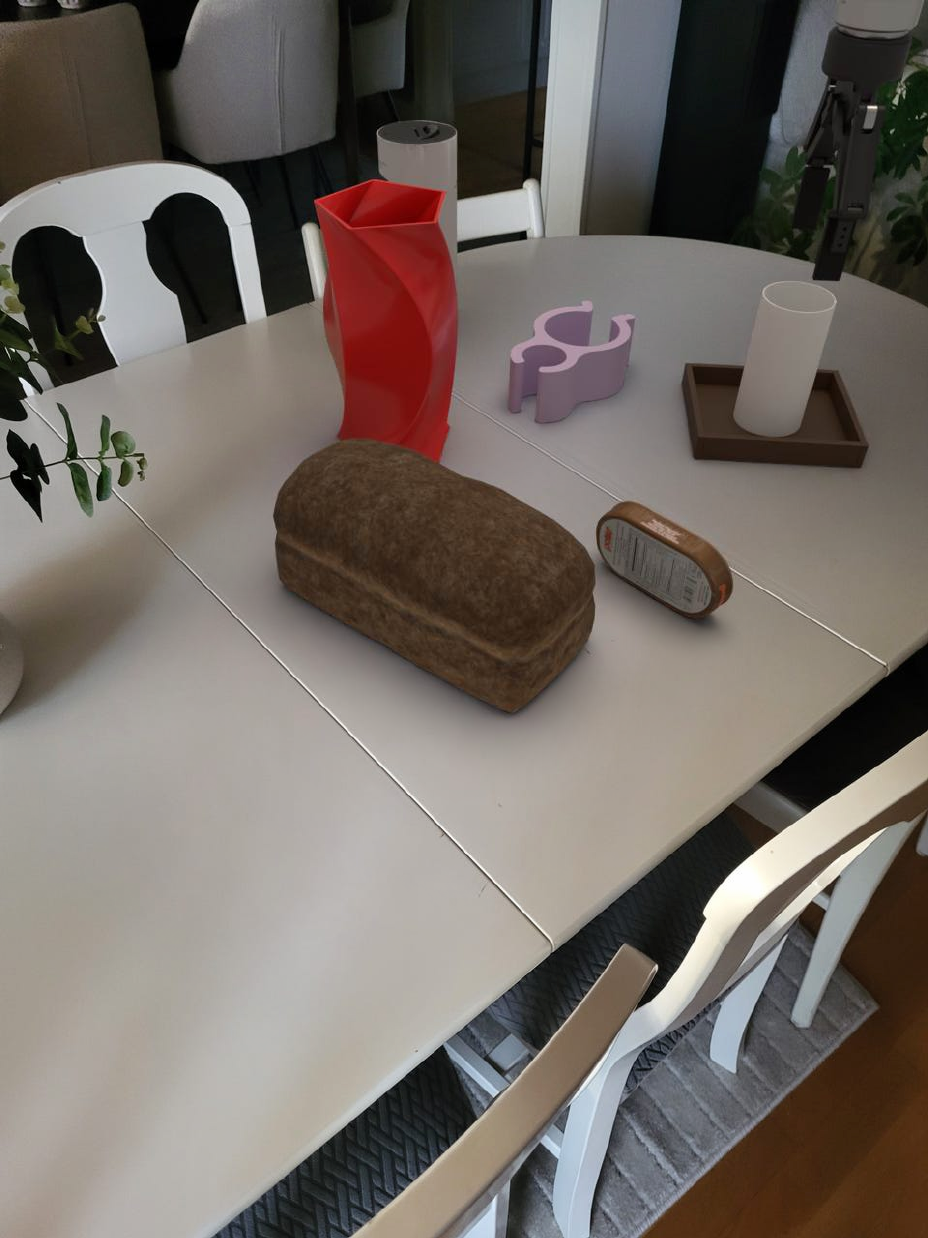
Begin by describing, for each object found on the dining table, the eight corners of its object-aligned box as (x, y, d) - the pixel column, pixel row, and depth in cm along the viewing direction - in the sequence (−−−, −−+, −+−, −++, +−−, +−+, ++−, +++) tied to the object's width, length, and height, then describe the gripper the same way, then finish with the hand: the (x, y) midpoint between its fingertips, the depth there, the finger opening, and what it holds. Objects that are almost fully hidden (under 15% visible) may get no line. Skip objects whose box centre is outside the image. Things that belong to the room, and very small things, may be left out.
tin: (725, 621, 92) (744, 554, 86) (706, 636, 90) (724, 570, 85) (605, 550, 100) (615, 484, 94) (586, 563, 98) (595, 497, 92)
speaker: (390, 304, 141) (381, 113, 123) (459, 305, 141) (460, 115, 123) (383, 337, 133) (372, 139, 115) (456, 339, 133) (457, 141, 115)
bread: (359, 514, 104) (348, 386, 93) (609, 640, 90) (631, 507, 79) (262, 584, 95) (238, 452, 84) (521, 735, 81) (532, 600, 70)
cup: (729, 430, 115) (759, 306, 104) (736, 397, 121) (765, 276, 110) (798, 442, 114) (836, 317, 103) (802, 408, 119) (837, 286, 108)
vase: (476, 436, 115) (481, 200, 96) (406, 493, 107) (395, 247, 87) (379, 398, 121) (365, 170, 102) (305, 450, 113) (274, 211, 93)
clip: (567, 433, 116) (572, 383, 111) (484, 401, 121) (485, 351, 116) (644, 368, 128) (652, 320, 123) (566, 342, 133) (570, 294, 128)
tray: (831, 391, 124) (838, 370, 122) (861, 468, 111) (869, 445, 109) (681, 383, 125) (685, 362, 123) (693, 458, 112) (698, 436, 110)
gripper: (807, -2, 98) (762, 208, 112) (860, 62, 80) (798, 302, 94) (881, -1, 97) (826, 210, 112) (951, 64, 79) (874, 305, 94)
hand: (813, 252), depth 103 cm, fingers open, 13 cm apart
